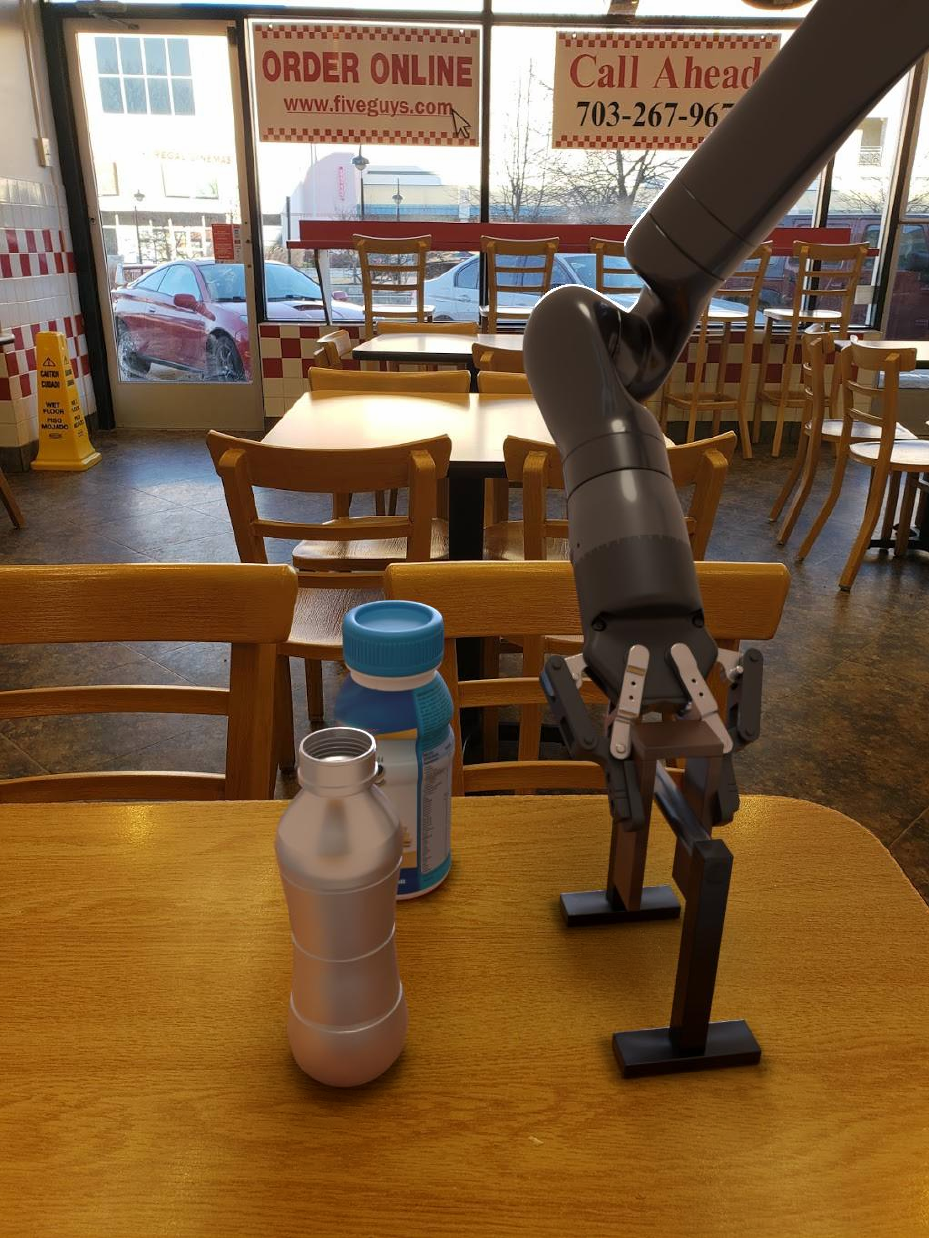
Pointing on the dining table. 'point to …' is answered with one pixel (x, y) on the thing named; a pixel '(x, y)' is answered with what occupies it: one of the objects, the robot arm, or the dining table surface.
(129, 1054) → the dining table surface
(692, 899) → the rack
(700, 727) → the two-legged arch bridge
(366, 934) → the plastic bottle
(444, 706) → the beverage bottle
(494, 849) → the dining table surface
